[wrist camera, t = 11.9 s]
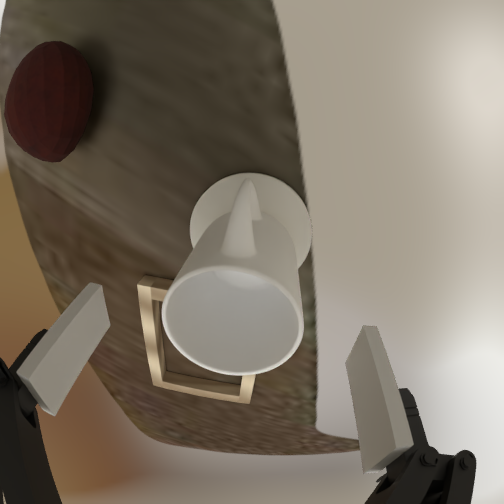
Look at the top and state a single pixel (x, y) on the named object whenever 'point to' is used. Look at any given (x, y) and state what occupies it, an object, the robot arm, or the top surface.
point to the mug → (237, 293)
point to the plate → (270, 202)
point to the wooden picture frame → (149, 298)
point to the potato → (49, 101)
